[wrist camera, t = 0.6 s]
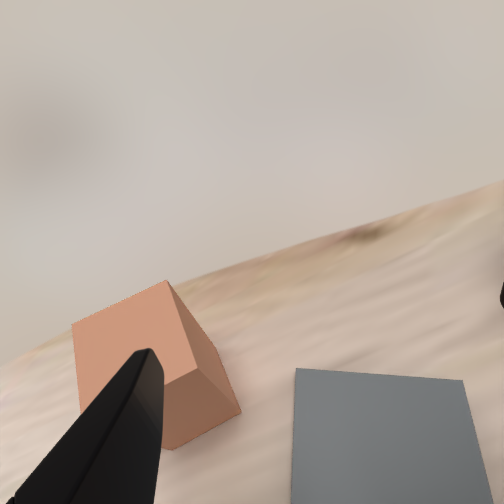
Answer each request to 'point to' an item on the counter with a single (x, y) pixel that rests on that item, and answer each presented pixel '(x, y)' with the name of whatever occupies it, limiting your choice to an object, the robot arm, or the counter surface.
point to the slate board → (384, 441)
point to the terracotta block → (168, 353)
